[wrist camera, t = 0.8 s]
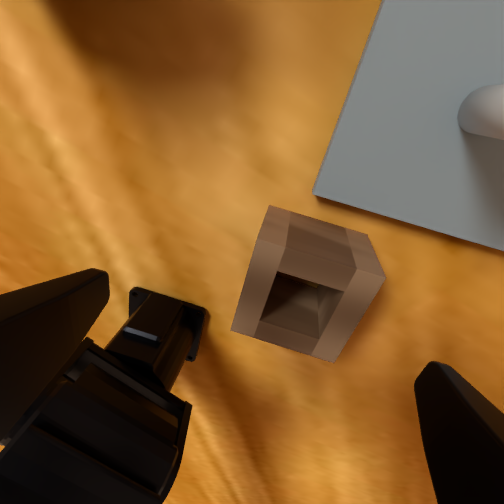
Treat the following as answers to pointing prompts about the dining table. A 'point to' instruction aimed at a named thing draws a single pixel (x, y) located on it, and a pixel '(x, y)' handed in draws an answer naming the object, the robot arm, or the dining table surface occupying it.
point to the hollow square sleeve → (302, 296)
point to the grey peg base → (426, 120)
